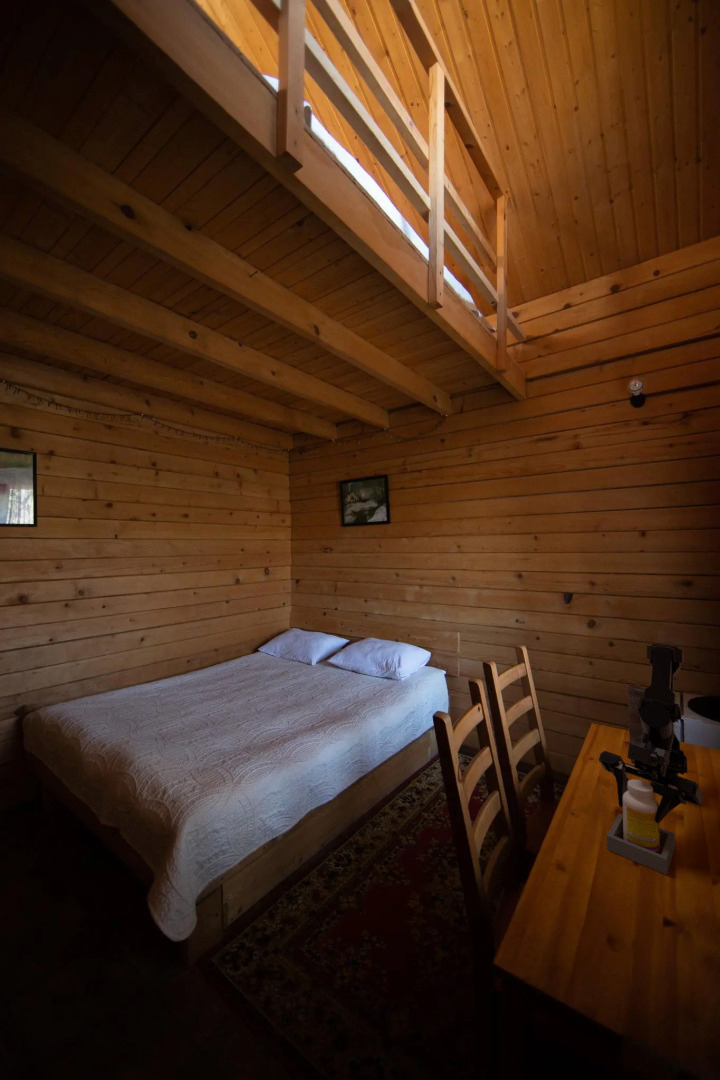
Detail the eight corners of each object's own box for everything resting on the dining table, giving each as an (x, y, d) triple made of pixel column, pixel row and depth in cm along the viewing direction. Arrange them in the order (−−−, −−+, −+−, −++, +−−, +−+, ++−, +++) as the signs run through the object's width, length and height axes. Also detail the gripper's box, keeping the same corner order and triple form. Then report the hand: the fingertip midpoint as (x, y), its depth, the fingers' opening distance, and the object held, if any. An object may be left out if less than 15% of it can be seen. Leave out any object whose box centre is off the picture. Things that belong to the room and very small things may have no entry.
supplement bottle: (666, 857, 90) (664, 795, 90) (630, 853, 91) (629, 792, 91) (651, 836, 96) (650, 778, 96) (618, 832, 98) (617, 775, 98)
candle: (623, 745, 141) (622, 683, 141) (645, 744, 141) (643, 682, 142) (640, 756, 133) (639, 691, 134) (663, 755, 134) (661, 690, 134)
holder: (619, 825, 101) (619, 813, 101) (675, 847, 94) (674, 833, 94) (607, 849, 93) (606, 835, 93) (666, 875, 86) (666, 859, 86)
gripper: (601, 716, 103) (580, 779, 96) (697, 744, 89) (681, 820, 82) (615, 739, 108) (597, 800, 101) (708, 769, 94) (694, 843, 87)
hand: (638, 814), depth 93 cm, fingers closed on supplement bottle, 7 cm apart
